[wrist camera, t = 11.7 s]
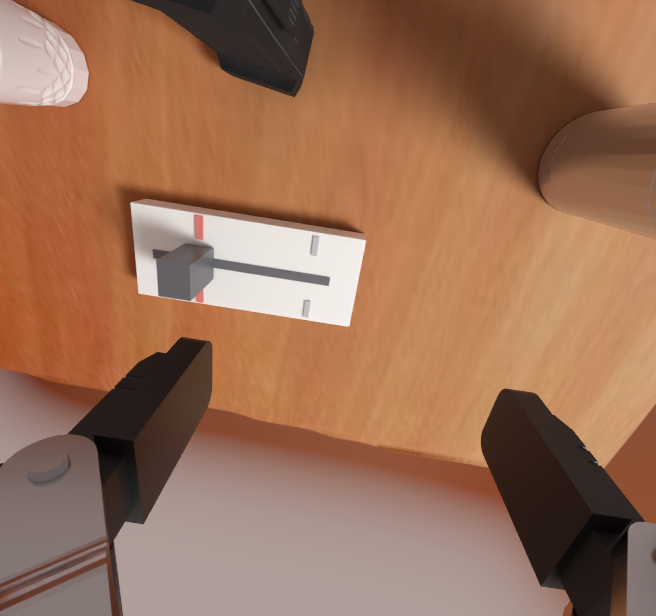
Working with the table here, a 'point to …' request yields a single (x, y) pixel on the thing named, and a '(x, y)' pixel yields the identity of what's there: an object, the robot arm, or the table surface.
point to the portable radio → (250, 37)
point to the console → (255, 260)
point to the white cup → (38, 60)
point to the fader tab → (185, 271)
